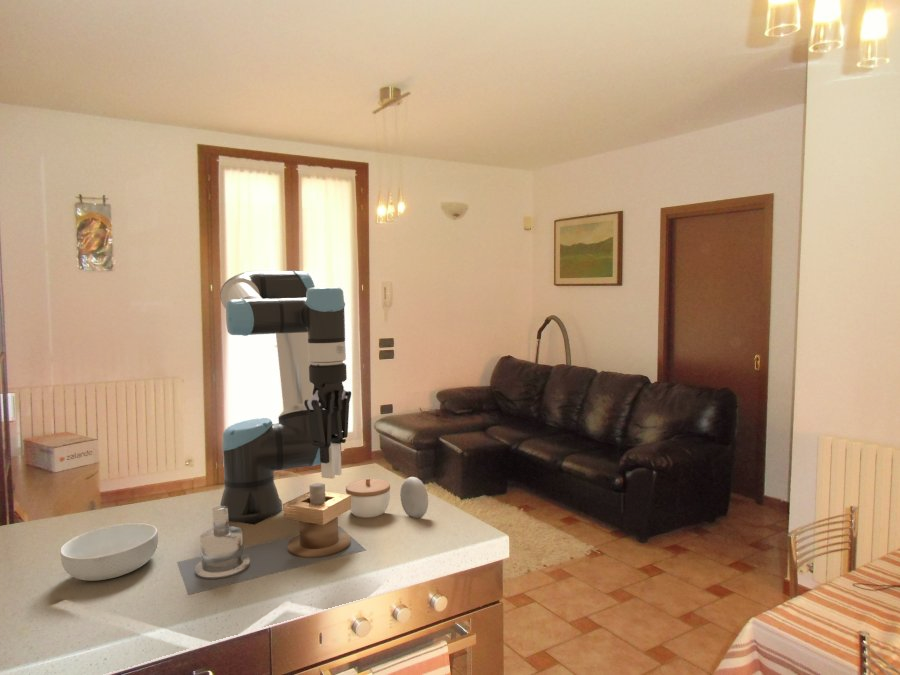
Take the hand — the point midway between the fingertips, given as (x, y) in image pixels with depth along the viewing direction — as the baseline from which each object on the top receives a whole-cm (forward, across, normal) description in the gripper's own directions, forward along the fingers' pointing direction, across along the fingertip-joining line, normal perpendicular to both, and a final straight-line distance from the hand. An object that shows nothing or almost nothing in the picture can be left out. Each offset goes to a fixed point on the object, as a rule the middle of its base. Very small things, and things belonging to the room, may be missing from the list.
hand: (331, 475), depth 125 cm
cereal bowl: (+17, -24, +36) cm, 46 cm away
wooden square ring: (+8, 0, +4) cm, 9 cm away
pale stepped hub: (+15, -16, +15) cm, 27 cm away
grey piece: (+17, +24, -6) cm, 30 cm away
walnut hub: (+15, 0, +4) cm, 16 cm away
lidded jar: (+17, +21, +5) cm, 27 cm away
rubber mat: (+16, -8, +9) cm, 21 cm away
